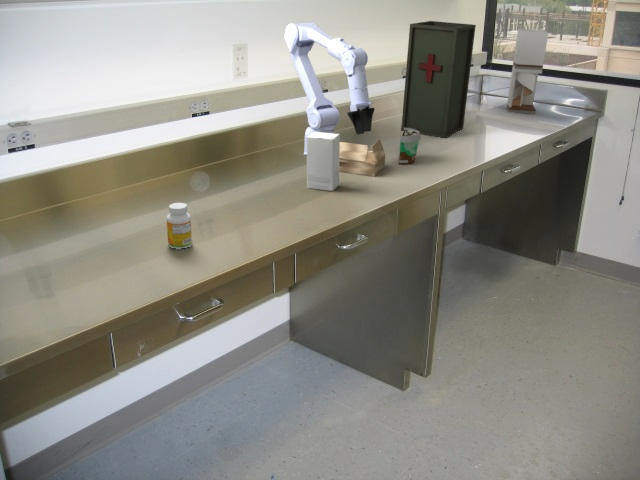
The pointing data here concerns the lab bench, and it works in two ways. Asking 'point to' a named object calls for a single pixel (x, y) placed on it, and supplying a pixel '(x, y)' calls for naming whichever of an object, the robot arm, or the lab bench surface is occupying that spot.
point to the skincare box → (323, 161)
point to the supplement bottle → (179, 226)
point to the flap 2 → (378, 150)
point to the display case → (526, 69)
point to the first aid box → (437, 77)
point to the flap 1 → (353, 151)
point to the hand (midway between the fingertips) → (364, 132)
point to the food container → (408, 146)
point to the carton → (362, 165)
